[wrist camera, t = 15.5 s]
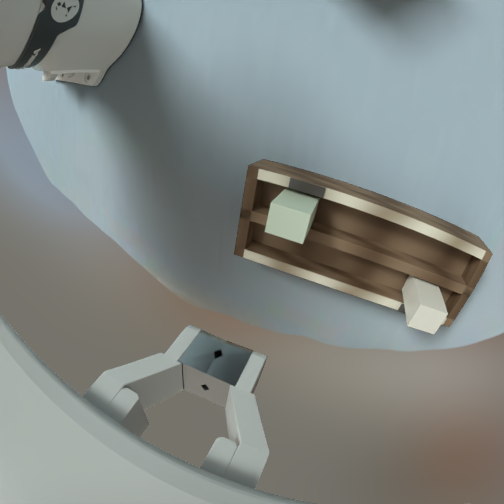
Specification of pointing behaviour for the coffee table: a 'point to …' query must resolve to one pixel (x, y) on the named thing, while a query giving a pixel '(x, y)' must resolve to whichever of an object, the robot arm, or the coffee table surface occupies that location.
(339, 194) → the wooden shelf rack
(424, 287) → the offwhite block
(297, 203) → the sage tab
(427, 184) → the coffee table surface
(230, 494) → the robot arm
